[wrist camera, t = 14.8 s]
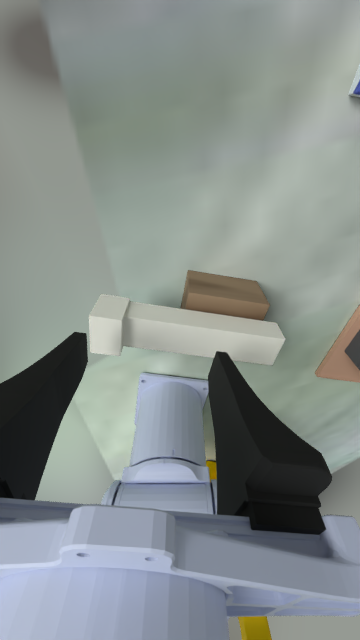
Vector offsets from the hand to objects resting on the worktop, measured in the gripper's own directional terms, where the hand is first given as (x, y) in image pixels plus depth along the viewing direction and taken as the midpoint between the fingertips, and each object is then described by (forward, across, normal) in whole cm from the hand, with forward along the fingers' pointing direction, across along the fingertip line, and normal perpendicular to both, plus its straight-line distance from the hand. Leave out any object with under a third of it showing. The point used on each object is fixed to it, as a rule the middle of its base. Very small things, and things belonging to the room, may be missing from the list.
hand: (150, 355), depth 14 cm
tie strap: (+5, -2, +1) cm, 6 cm away
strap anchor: (+9, -5, +1) cm, 11 cm away
